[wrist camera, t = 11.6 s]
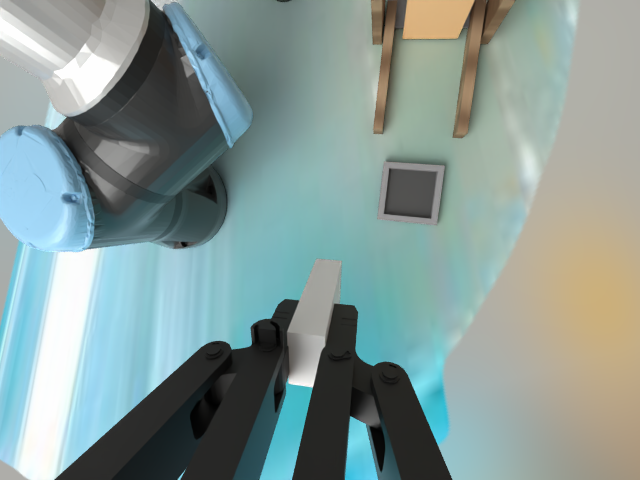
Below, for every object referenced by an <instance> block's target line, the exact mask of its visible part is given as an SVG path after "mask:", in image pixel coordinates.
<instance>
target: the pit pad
mask: <svg viewBox="0 0 640 480" xmlns="http://www.w3.org/2000/svg"><path fill="white" fill-rule="evenodd" d="M444 169H445V166H444V165H429V164H414V163H399V162H384V166H383V175H382V183H381V192H380V200H379V209H378V217H377V219H380V220H390V221H400V222H410V223H419V224H429V225H437V220H438V213H439V205H440V198H441V191H442V183H443V176H444Z"/></svg>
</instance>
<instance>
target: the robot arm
mask: <svg viewBox="0 0 640 480" xmlns="http://www.w3.org/2000/svg"><path fill="white" fill-rule="evenodd" d="M0 56H2V57H3V58H5V59H6V60H8V61H10V62H12V63H13V64H15V65H16V66H18V67H20V68H22V69H23V70H25V71H27V72H28V73H30V74H32V75H33V76H35V77H37V78H38V79H39V80H40V81H41V82H42V83H43V85H44V87H45V89H46V92H47V94H48V96H49V98H50V101H51V103H52V105H53V107H54V109H55V110H56V111H57V112H59V113H60V114H62V115H64V116H66V117H67V118H66V119H65V120H64V121H63V122H62V123H61V124H60V125H59V126H58V127H57V128H56V129H54V130H50V129H49V128H47V127H43V126H41V125H32V126H16V127H12V128H11V129H9V130H7V131H6V132H5V133H3V134H2V135H1V136H0V218H1V220H2V221H3V223H4V224H5V226H6V227H7V228H8V229H9V231H10V232H11V233H12V234H13V235H14V236H15V237H16V238H17V239H18V240H20V241H21V242H22V243H24V244H26V245H28V246H30V247H32V248H34V249H39V250H42V251H47V252H68V251H72V252H80V251H83V250H86V249H94V248H102V247H110V246H118V245H126V244H135V243H143V242H151V243H154V244H158V245H161V246H164V247H167V248H172V249H186V248H192V247H197V246H200V245H202V244H204V243H206V242H207V241H209V240H210V239H211V238H212V237H213V236H214V235H215V234H216V233H217V232H218V230H219V229H220V227H221V225H222V223H223V221H224V218H225V214H226V207H227V198H226V192H225V188H224V185H223V182H222V180H221V178H220V176H219V175H218V173H217V172H216V171H215V169H214V168H213V167H212V166H211V165H210V164H212V163H213V162H214V161H215V160H216V159H217V158H218V157H219V156H220V155H222V154H223V153H224V152H225V151H226V150H227V149H228V148H230V149H231V148H232V147H233V145H234V142H235V141H236V140H237V139H238V138H239V137H240V136H241V135H242V134H243V133H244V132H245V131H246V130H247V129H248V128H249V127H250V125H251V123H252V119H253V113H252V109H251V107H250V105H249V103H248V101H247V100H246V98H245V96H244V95H243V93H242V92H241V90H240V89H239V87H238V86H237V84H236V83H235V81H234V80H233V78H232V77H231V75H230V74H229V72H228V71H227V69H226V68H225V66H224V65H223V63H222V62H221V61H220V59H219V58H218V56H217V55H216V53H215V52H214V50H213V49H212V47H211V46H210V45H209V43H208V42H207V40H206V39H205V37H204V36H203V35H202V33H201V32H200V30H199V29H198V28H197V26H196V25H195V23H194V22H193V21H192V19H191V18H190V17H189V16H188V14H187V13H186V12H185V10H184V9H183V7H182V6H181V5H180V4H179V3H177V2H172V3H170V4H169V5H168V4H165V5H164V6H163V11H161V10H159V9H158V8H157V7H156V6H155V5H154V3H153V2H152V1H151V0H0ZM341 264H342V261H338V260H326V259H316V261H315V263H314V266H313V268H312V271H311V273H310V276H309V278H308V281H307V283H306V286H305V288H304V291H303V293H302V296H301V298H300V301H299V300H289V299H285V300H283V301H282V302H281V303H280V304H278V306H277V308H276V310H275V312H274V314H273V316H272V318H271V319H264V320H260V321H258V322H256V323H254V324H253V325H252V326H251V337H252V345H251V346H250V347H247V348H241V349H233V350H231V347H230V345H229V344H228V343H226V342H223V341H214V342H210V343H208V344H206V345H204V346H203V347H201V348H200V349H199V350H198V351H197V352H196V353H194V354H193V355H192V356H191V357H190V358H189V359H188V360H187V361H186V362H184V363H183V364H182V365H181V366H180V367H179V368H178V369H177V370H176V371H174V372H173V373H172V374H171V375H170V376H169V377H168V378H167V379H166V380H164V381H163V382H162V383H161V384H160V385H159V386H158V387H157V388H156V389H155V390H153V391H152V392H151V393H150V394H149V395H148V396H147V397H146V398H145V399H143V400H142V401H141V402H140V403H139V404H138V405H137V406H136V407H135V408H133V409H132V410H131V411H130V412H129V413H128V414H127V415H126V416H125V417H123V418H122V419H121V420H120V421H119V422H118V423H117V424H116V425H115V426H113V427H112V428H111V429H110V430H109V431H108V432H107V433H106V434H105V435H103V436H102V437H101V438H100V439H99V440H98V441H97V442H96V443H95V444H93V445H92V446H91V447H90V448H89V449H88V450H87V451H86V452H85V453H84V454H82V455H81V456H80V457H79V458H78V459H77V460H76V461H75V462H74V463H72V464H71V465H70V466H69V467H68V468H67V469H66V470H65V471H64V472H62V473H61V474H60V475H59V476H58V477H57V478H56V479H55V480H177V479H178V478H179V477H180V476H181V474H182V473H183V472H184V470H185V469H186V470H185V472H184V474H183V476H182V478H181V480H259V479H260V475H261V472H262V469H263V466H264V463H265V459H266V456H267V453H268V450H269V446H270V443H271V440H272V437H273V434H274V430H275V427H276V424H277V421H278V418H279V414H280V411H281V408H282V405H283V402H284V398H285V395H286V382H287V379H288V376H289V384H294V385H301V386H307V387H313V390H312V394H311V398H310V403H309V407H308V412H307V416H306V420H305V425H304V429H303V434H302V438H301V443H300V447H299V451H298V456H297V460H296V465H295V469H294V473H293V478H292V480H345V471H346V459H347V447H348V434H349V422H350V416H351V417H353V418H355V419H357V420H359V421H361V422H363V423H365V424H366V427H367V431H368V436H369V440H370V445H371V449H372V454H373V458H374V463H375V467H376V471H377V476H378V480H452V478H451V475H450V473H449V471H448V468H447V466H446V464H445V461H444V459H443V457H442V454H441V452H440V450H439V447H438V445H437V443H436V440H435V438H434V436H433V433H432V431H431V429H430V426H429V424H428V422H427V419H426V417H425V415H424V412H423V410H422V408H421V405H420V403H419V401H418V398H417V396H416V394H415V391H414V389H413V386H412V384H411V382H410V379H409V377H408V375H407V373H406V372H405V370H404V369H403V368H401V367H400V366H399V365H397V364H394V363H392V362H381V363H378V364H376V365H375V366H372V365H369V364H367V363H365V362H363V361H362V360H361V359H360V358H359V357H358V356H357V354H356V352H355V346H356V333H357V319H358V311H357V310H356V308H355V306H353V305H344V304H339V303H340V287H341Z"/></svg>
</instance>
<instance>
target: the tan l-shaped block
mask: <svg viewBox="0 0 640 480" xmlns="http://www.w3.org/2000/svg"><path fill="white" fill-rule="evenodd" d="M474 1H475V0H407V5H406V13H405V22H404V30H403V39H458V37H459V34H460V32H461V30H462V28H463V25H464V23H465V21H466V19H467V16H468V14H469V12H470V10H471V7H472V5H473V3H474Z"/></svg>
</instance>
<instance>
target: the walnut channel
mask: <svg viewBox="0 0 640 480" xmlns="http://www.w3.org/2000/svg"><path fill="white" fill-rule="evenodd" d="M514 2H515V0H488V2H487V4H486V0H475V2H474V4H473V6H472V9H471V12H470V20H469V27H468V31H467V38H466V45H465V52H464V60H463V67H462V74H461V81H460V88H459V96H458V103H457V110H456V117H455V125H454V132H453V138H463V137H464V136H465V135H466V134H467V133H468V126H469V119H470V112H471V105H472V98H473V91H474V84H475V77H476V70H477V63H478V56H479V49H480V44H488V43H489V41H490V40H491V38H492V37H493V35H494V33H495V32H496V30H497V29H498V27H499V26H500V24H501V22H502V21H503V19H504V18H505V16H506V15H507V13H508V11H509V10H510V8H511V7H512V5H513V4H514ZM371 9H372V36H373V44H382V36H383V27H384V18H385V0H371ZM396 10H397V0H395V1H388V3H387V12H386V21H385V30H384V39H383V48H382V57H381V66H380V75H379V83H378V92H377V101H376V110H375V119H374V128H373V130H374V134H382V133H383V124H384V115H385V107H386V98H387V89H388V81H389V72H390V63H391V54H392V46H393V37H394V28H395V19H396Z"/></svg>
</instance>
